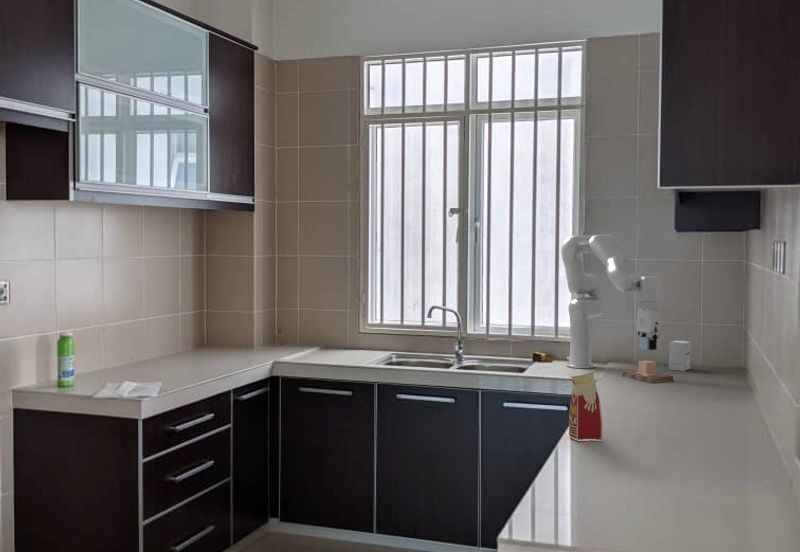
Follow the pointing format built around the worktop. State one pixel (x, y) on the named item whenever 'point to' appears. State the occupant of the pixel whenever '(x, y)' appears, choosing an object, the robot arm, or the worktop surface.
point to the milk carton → (585, 409)
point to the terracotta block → (647, 367)
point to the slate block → (645, 343)
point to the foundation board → (647, 376)
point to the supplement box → (679, 355)
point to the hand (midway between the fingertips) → (648, 348)
